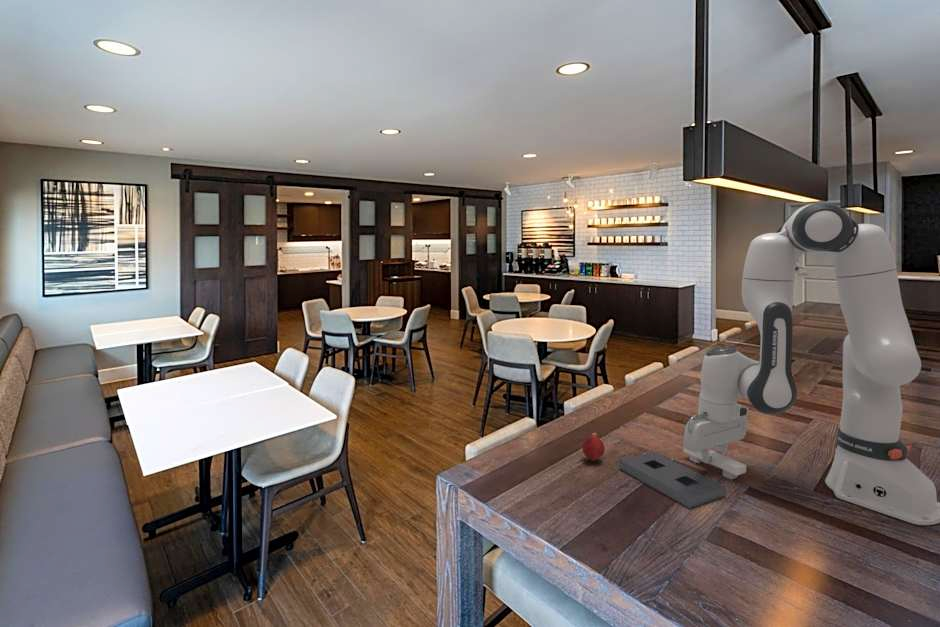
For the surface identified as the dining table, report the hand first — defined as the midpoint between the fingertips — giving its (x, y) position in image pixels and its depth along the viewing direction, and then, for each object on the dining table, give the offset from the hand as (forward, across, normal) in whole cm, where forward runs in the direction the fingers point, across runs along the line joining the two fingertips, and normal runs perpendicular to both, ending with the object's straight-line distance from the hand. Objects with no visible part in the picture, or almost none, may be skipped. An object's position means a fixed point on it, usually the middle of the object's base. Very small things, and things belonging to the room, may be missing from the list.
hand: (713, 460), depth 132 cm
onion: (+2, -25, +18) cm, 31 cm away
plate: (+2, -16, 0) cm, 16 cm away
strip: (+2, 0, 0) cm, 2 cm away
